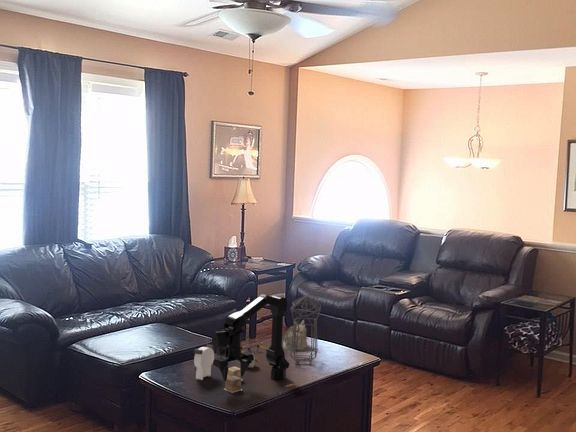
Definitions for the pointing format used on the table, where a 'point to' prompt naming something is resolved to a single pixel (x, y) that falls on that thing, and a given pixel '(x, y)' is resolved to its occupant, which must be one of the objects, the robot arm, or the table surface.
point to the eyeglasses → (250, 350)
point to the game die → (253, 362)
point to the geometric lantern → (304, 324)
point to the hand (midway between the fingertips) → (233, 378)
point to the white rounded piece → (203, 361)
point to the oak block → (234, 372)
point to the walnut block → (233, 383)
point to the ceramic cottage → (301, 337)
